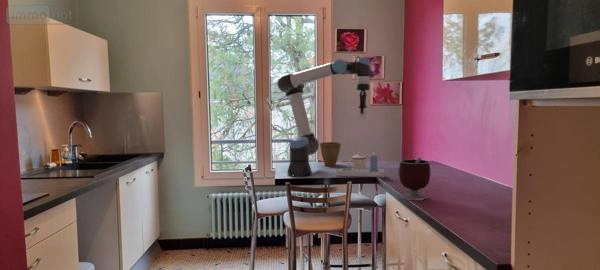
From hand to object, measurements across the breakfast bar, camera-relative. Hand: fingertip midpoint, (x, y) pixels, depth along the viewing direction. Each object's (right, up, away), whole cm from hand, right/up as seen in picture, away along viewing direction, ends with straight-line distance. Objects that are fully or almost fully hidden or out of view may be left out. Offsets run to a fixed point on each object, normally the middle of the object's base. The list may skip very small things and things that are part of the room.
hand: (362, 118), depth 229 cm
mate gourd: (+15, -40, -55) cm, 70 cm away
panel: (-2, -35, -4) cm, 35 cm away
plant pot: (-16, -32, +41) cm, 54 cm away
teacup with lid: (-1, -34, +17) cm, 38 cm away
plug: (+6, -34, -5) cm, 35 cm away
